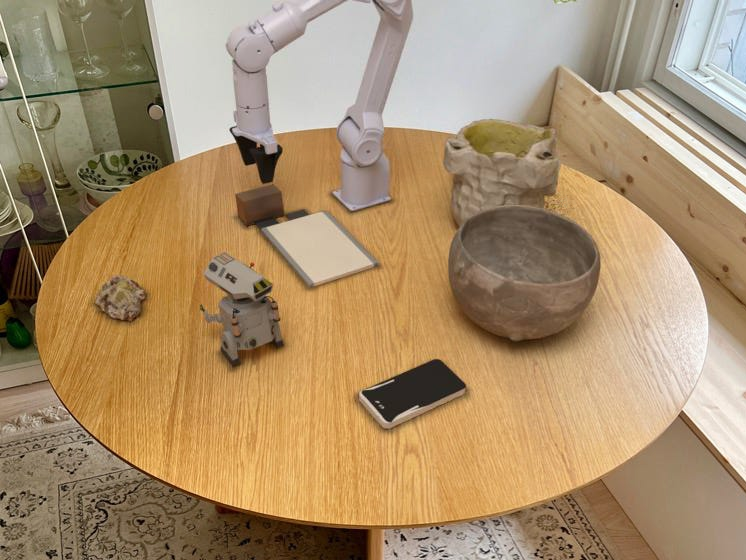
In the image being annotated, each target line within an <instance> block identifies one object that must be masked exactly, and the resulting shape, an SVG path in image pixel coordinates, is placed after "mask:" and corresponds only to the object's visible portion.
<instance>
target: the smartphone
mask: <svg viewBox="0 0 746 560" xmlns="http://www.w3.org/2000/svg"><path fill="white" fill-rule="evenodd" d="M466 388H467V384H466V383H465V381H463V380H462V379H461V378H460V377H459V376H458V374H456V373H455V371H453V370H452V369H451V368H450V367H449V366H448V365H447V364H445V363H444V361H443V360H441V359H439V358H434V359H431V360H429V361H427V362H424V363H423V364H420V365H418V366H415V367H413V368H411V369H409V370H406V371H404V372H402V373H399V374H397V375H394V376H392V377H390V378H388V379H385V380H383V381H379V383H375V384H373V385H372V386H369V387H367V388H364V389H362V390H360V392H358V393H359V394H358V395H359V397H358V401H359V403H360V404H361V405H362V406H363V408H365V410H366V411H367V412H368V413H369V414H370V416H371V417H373V418H374V420H375V421H376V422H377V423H378V425H380V426H381V428H383V429H385V430H389V429H392V428H394V427H396V426H398V425H401V424H403V423H405V422H408V421H409V420H411V419H414V418H416V417H418V416H420V415H423V414H425V413H427V412H429V411H431V410H433V409H435V408H437V407H439V406H442V405H445V404H446V403H448V402H450V401H452V400H455V399H458V398H459V397H461V396H463V395H465V393H466Z"/></svg>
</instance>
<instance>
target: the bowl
mask: <svg viewBox="0 0 746 560" xmlns="http://www.w3.org/2000/svg"><path fill="white" fill-rule="evenodd" d="M601 260H602V259H601V254H600V251H599V247H598V245H597V243H596V241H595V240H594V238H593V236H592V235H591V234H590V233H589V232H588V230H587V229H585V228H584V227H582V225H581V224H579V223H578V222H576V221H575V220H573V219H571V218H569V217H567V216H565V215H563V214H561V213H558V212H556V211H553V210H550V209H547V208H539V207H534V206H526V205H503V206H497V207H493V208H489V209H485V210H482V211H479V212H477V213H474V214H472V215H471V216H469V217H467V218H466V219H465V220H464V221H463V223H462V224H461V226H460V227H459V226H458V229H457V230H456V232H455V234H454V235H453V237H452V240H451V242H450V246H449V251H448V260H447V269H448V270H447V271H448V282H449V286H450V290H451V293H452V295H453V297H454V299H455V301H456V304H458V306H459V307H460V309H461V311H462V312H463V313H464V314H465V316H467V317H468V319H470V320H471V321H472V322H473V323H474V324H475V325H477V326H479V327H480V328H482V329H483V330H486V331H487V332H490V333H492V334H493V335H496V336H499V337H502V338H506V339H509V340H511V341H515V342H519V341H522V340H535V339H541V338H545V337H549V336H552V335H555V334H557V333H559V332H561V331H562V330H564V329H566V328H567V327H570V326H571V325H572V324H574V323H575V322H576V321H577V320H578V319H580V318H581V316H582V315H583V314H584V313H585V311H586V310H587V309H588V307H589V306H590V303H591V302H592V300H593V298H594V296H595V293H596V290H597V288H598V285H599V280H600V274H601V266H602V265H601V264H602V263H601Z"/></svg>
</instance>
